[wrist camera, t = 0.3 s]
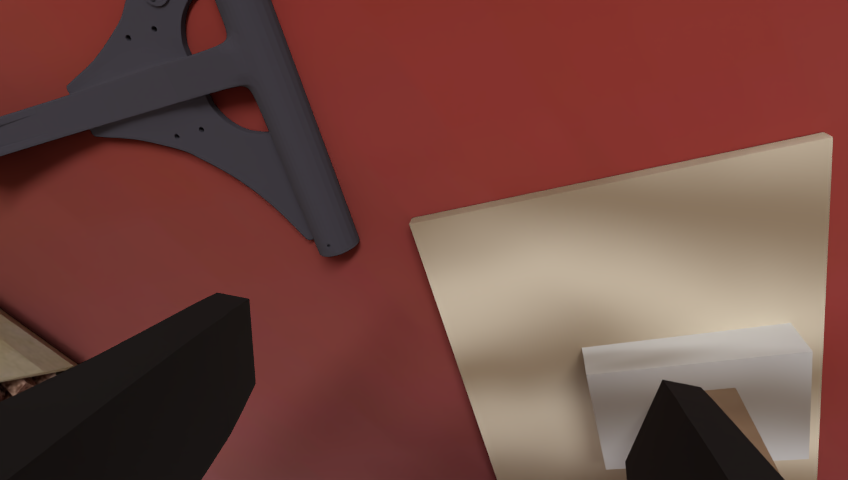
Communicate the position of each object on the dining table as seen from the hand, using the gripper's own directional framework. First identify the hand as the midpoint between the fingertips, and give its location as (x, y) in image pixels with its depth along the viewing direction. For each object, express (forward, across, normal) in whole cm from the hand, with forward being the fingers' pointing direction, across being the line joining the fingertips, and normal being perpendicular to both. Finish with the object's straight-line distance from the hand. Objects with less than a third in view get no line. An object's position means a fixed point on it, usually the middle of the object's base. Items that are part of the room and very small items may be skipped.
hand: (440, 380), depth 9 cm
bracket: (+11, +14, -1) cm, 17 cm away
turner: (+9, -9, +7) cm, 15 cm away
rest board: (+10, -7, +7) cm, 14 cm away
